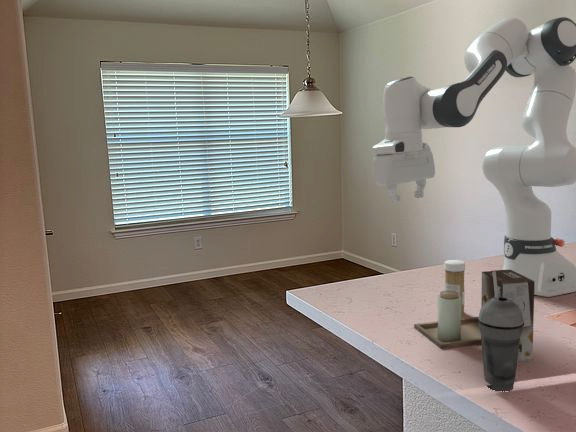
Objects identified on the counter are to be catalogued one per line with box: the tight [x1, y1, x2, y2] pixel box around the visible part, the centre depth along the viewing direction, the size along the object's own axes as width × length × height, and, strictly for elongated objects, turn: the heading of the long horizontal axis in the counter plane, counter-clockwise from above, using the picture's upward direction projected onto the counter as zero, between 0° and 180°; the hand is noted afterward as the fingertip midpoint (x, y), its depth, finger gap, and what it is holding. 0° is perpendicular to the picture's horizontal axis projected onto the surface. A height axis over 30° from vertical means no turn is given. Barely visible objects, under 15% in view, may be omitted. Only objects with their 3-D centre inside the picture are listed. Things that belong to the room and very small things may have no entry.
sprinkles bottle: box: [444, 259, 466, 317], centre depth 122 cm, size 5×5×14 cm
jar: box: [437, 290, 462, 342], centre depth 107 cm, size 5×5×10 cm
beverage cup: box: [477, 270, 524, 393], centre depth 88 cm, size 7×7×20 cm
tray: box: [413, 316, 481, 350], centre depth 111 cm, size 16×12×2 cm
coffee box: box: [480, 269, 535, 363], centre depth 100 cm, size 9×6×16 cm
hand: (407, 200), depth 131 cm, fingers open, 8 cm apart
